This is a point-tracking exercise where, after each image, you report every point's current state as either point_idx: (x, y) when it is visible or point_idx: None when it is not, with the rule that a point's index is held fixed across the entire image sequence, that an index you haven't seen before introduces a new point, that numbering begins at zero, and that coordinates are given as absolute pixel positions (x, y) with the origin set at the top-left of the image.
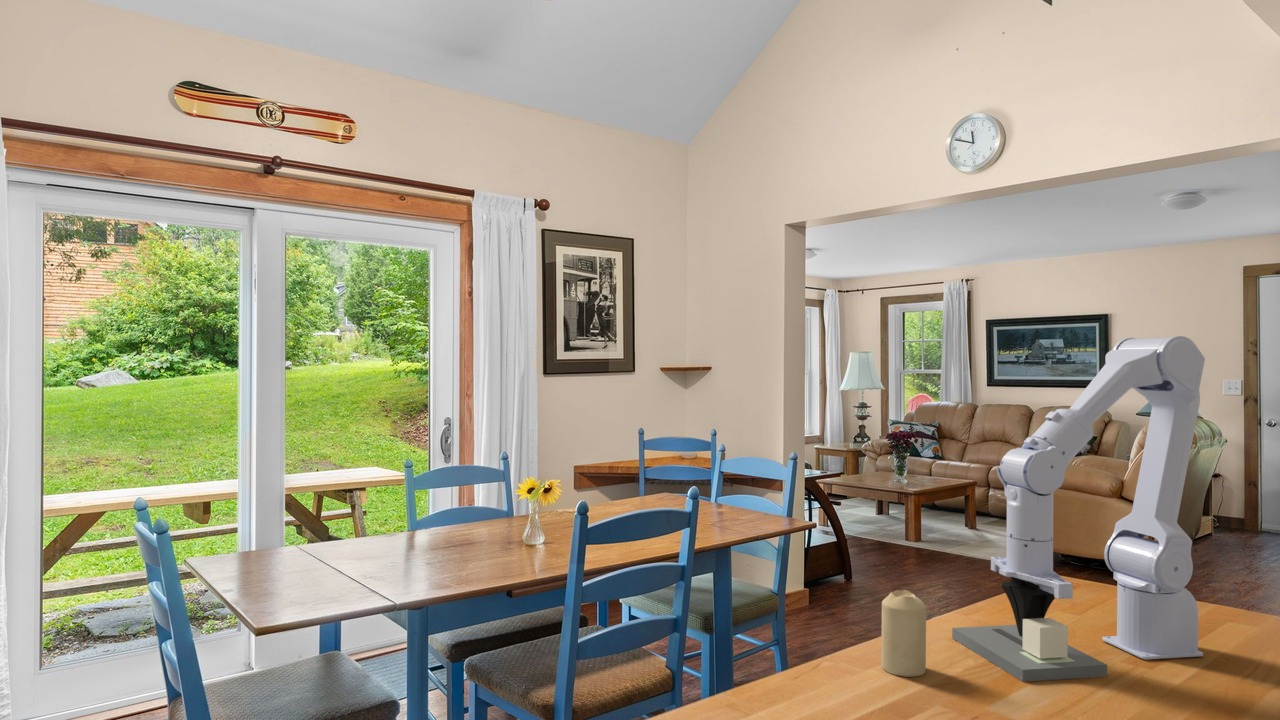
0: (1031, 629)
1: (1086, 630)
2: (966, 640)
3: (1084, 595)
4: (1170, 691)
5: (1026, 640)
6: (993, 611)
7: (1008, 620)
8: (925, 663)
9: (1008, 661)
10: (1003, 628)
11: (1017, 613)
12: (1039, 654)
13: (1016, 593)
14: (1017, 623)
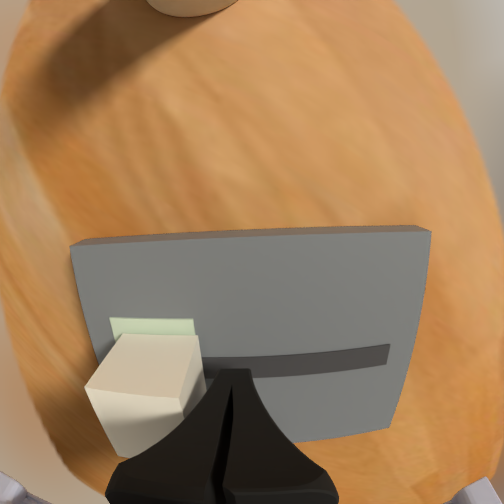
0: (133, 379)
1: (358, 485)
2: (354, 230)
3: (450, 494)
4: (92, 445)
5: (172, 353)
6: (487, 393)
7: (450, 405)
8: (156, 3)
9: (123, 242)
10: (386, 374)
11: (233, 412)
12: (120, 338)
13: (174, 473)
14: (243, 388)
